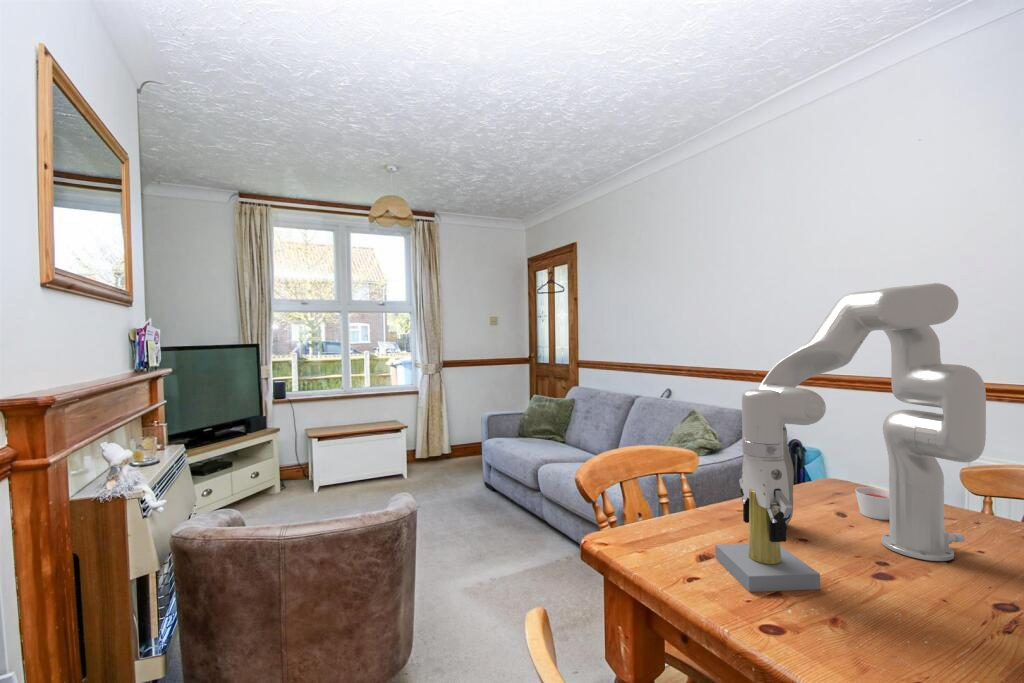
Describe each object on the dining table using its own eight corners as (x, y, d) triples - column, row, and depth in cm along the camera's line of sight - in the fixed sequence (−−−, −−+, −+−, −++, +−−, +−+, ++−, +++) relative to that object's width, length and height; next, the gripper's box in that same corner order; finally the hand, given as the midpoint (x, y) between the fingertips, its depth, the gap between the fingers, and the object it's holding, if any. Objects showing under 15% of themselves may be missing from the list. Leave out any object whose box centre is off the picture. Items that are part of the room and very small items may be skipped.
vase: (786, 566, 95) (784, 495, 95) (753, 564, 96) (751, 494, 96) (775, 552, 101) (774, 485, 101) (744, 550, 102) (743, 484, 102)
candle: (906, 521, 123) (906, 497, 123) (871, 522, 124) (871, 498, 124) (880, 509, 132) (879, 486, 132) (847, 509, 133) (847, 487, 133)
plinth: (777, 556, 106) (776, 542, 106) (820, 589, 92) (819, 573, 92) (715, 558, 105) (715, 544, 105) (749, 591, 91) (748, 576, 91)
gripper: (807, 459, 90) (808, 549, 90) (757, 439, 107) (758, 515, 107) (768, 460, 89) (770, 550, 90) (724, 440, 107) (725, 516, 107)
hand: (763, 531), depth 98 cm, fingers open, 9 cm apart
